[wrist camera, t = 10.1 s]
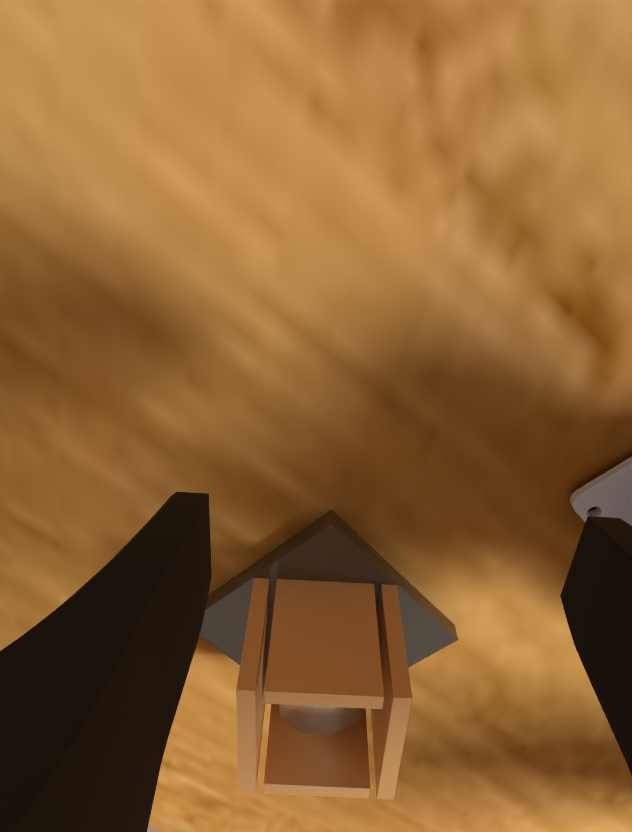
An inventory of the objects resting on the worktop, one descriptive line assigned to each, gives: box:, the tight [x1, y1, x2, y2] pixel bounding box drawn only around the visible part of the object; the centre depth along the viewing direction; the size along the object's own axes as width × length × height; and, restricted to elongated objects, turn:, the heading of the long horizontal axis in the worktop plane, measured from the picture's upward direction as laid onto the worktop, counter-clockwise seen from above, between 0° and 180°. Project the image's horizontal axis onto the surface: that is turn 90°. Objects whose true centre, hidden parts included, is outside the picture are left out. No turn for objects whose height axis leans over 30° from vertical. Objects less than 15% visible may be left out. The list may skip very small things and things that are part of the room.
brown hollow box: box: [237, 578, 412, 800], centre depth 23 cm, size 6×6×5 cm
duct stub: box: [200, 511, 458, 735], centre depth 24 cm, size 8×8×4 cm
